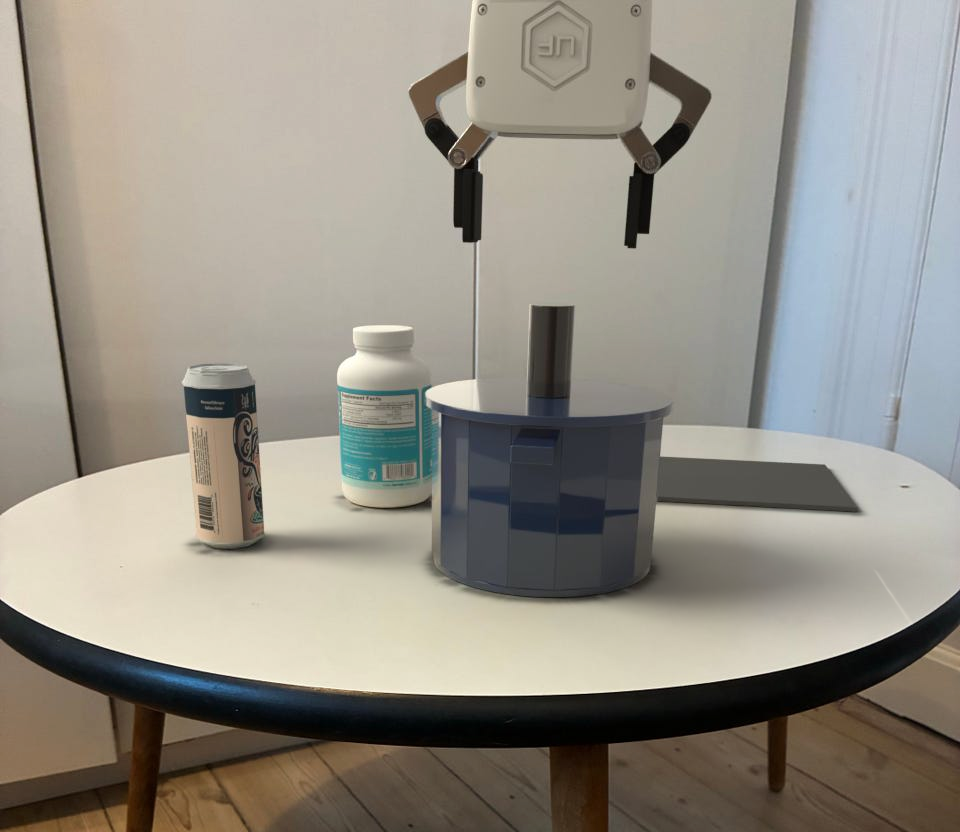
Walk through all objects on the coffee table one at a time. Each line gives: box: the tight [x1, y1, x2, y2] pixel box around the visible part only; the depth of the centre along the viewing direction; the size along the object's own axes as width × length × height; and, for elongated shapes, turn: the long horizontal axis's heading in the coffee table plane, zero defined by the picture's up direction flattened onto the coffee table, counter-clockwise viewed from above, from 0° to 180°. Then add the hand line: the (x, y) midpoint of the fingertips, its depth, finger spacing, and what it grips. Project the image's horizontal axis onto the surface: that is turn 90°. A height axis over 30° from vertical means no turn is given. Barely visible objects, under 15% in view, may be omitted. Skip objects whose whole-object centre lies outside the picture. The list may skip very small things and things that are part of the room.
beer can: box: [181, 362, 266, 550], centre depth 70 cm, size 5×5×12 cm
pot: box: [431, 410, 664, 598], centre depth 67 cm, size 15×20×10 cm
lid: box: [425, 302, 675, 427], centre depth 64 cm, size 16×16×7 cm
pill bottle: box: [336, 324, 432, 509], centre depth 82 cm, size 8×7×14 cm
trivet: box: [656, 455, 858, 513], centre depth 91 cm, size 16×16×1 cm
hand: (550, 244), depth 62 cm, fingers open, 9 cm apart
